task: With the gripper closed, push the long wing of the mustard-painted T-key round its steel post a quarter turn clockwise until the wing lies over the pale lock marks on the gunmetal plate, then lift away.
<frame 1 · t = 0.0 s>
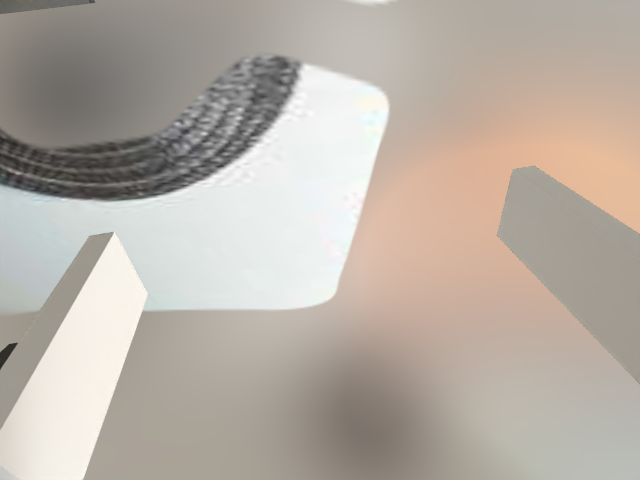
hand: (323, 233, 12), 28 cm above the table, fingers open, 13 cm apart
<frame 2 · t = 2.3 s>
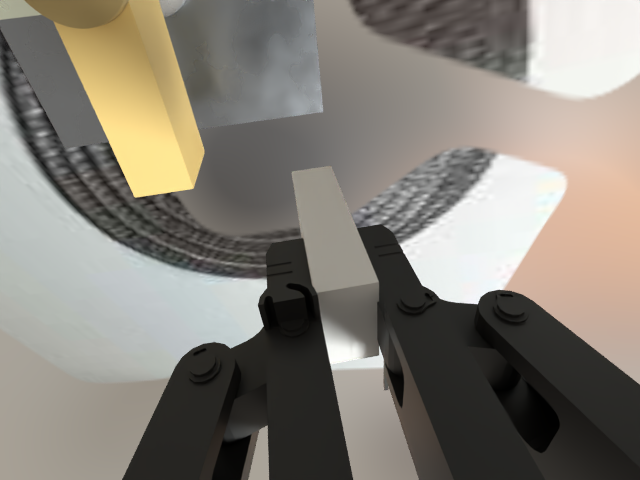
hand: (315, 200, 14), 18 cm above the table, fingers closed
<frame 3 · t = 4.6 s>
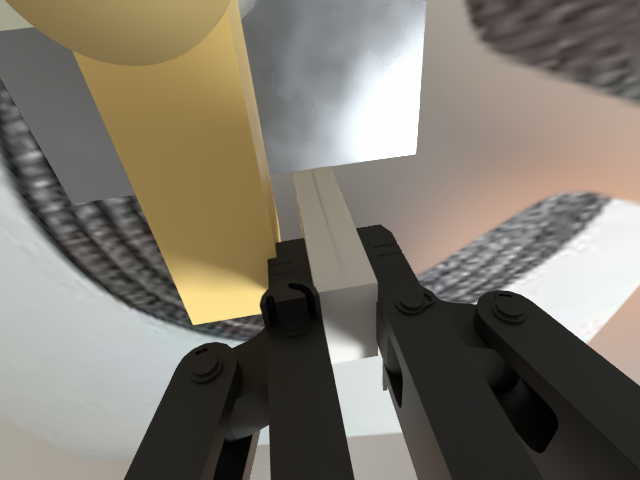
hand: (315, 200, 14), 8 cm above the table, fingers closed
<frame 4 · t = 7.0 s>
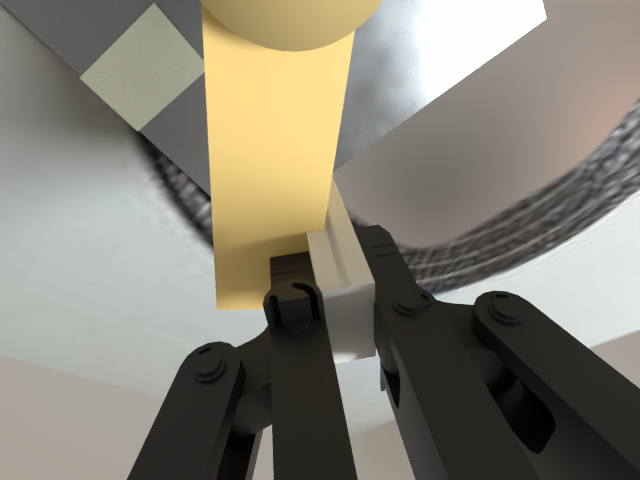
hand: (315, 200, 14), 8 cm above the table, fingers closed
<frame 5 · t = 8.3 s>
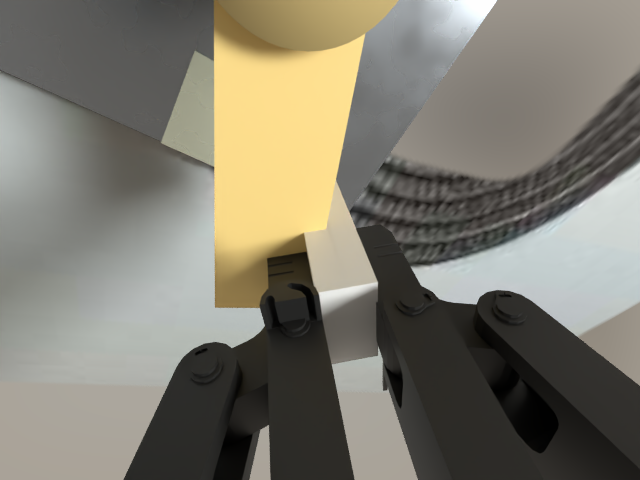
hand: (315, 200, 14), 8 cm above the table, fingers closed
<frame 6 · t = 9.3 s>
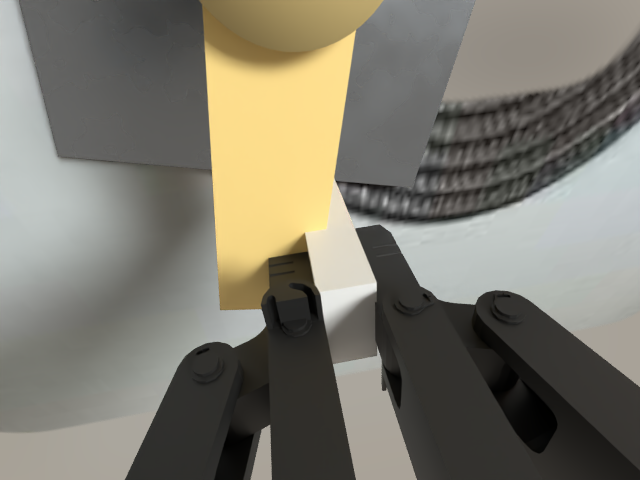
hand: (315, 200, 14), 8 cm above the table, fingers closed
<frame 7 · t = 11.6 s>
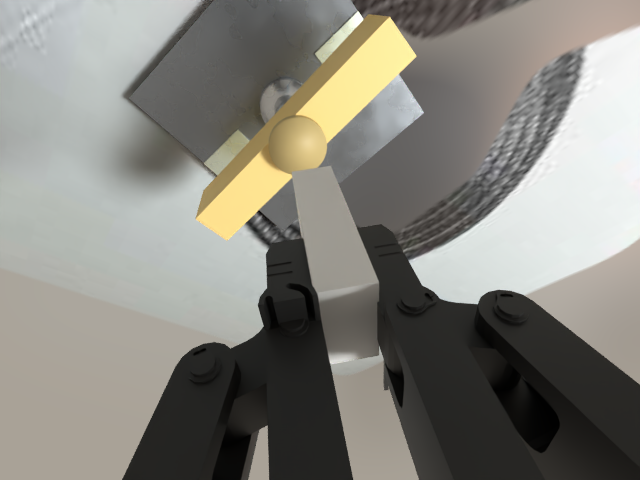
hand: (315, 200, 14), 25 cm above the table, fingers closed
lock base: (285, 103, 36), on the table
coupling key: (294, 135, 27), point 10 cm above the table, hinge at 87.2°
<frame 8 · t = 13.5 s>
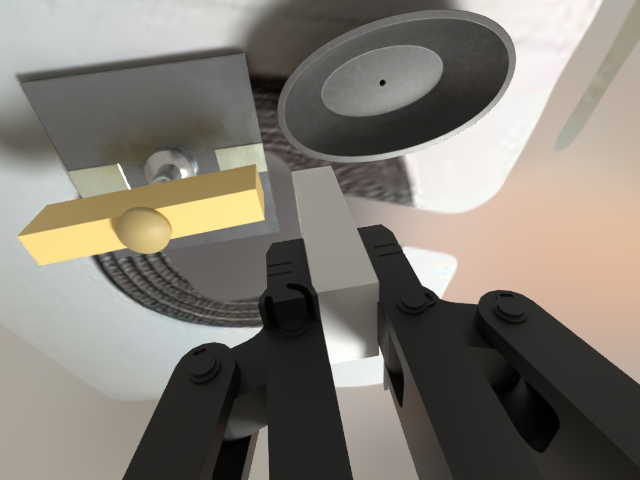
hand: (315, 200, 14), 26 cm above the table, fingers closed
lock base: (174, 165, 39), on the table
bowl: (377, 78, 37), on the table
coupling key: (151, 214, 31), point 10 cm above the table, hinge at 87.2°
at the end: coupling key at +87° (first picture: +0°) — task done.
